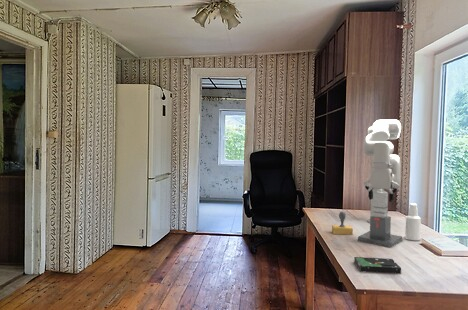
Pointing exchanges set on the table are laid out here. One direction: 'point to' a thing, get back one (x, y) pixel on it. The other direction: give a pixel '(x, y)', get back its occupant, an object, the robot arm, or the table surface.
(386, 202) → the block
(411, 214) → the spray bottle
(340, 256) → the table surface
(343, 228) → the rubber stamp
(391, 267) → the disk drive
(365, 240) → the jack stand base
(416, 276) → the table surface
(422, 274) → the table surface
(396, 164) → the robot arm
